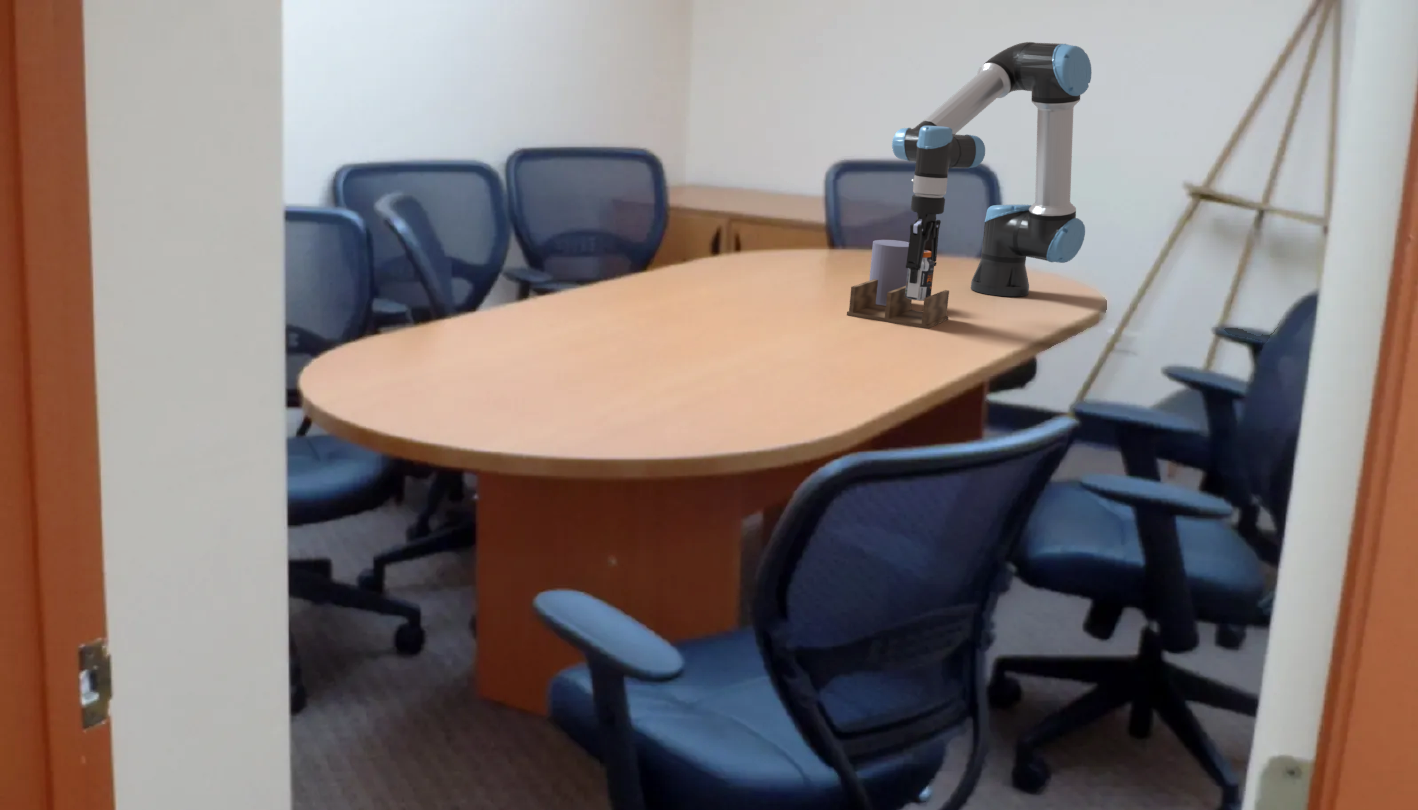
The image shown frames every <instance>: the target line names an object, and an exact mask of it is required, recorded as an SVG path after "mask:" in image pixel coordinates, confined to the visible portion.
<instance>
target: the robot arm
mask: <svg viewBox="0 0 1418 810" xmlns="http://www.w3.org/2000/svg"><path fill="white" fill-rule="evenodd" d="M1091 81H1092V64H1091V60H1090V58H1089V55H1088V54H1087V52H1085V50H1084V49H1083V48H1082V47H1081V46H1077V45H1073V44H1067V43H1050V42H1049V43H1048V42H1032V41H1026V42H1021V43H1016V44H1014V45H1012V46H1009V47H1007V48H1005V49H1003V50H1001V51H1000V52H998V53H996V54H995V55H993V56H992V57H990V58H989V59H988V60H987V61H985V63H983V64H981V65H980V67H979V68H978V71H977V74H976V75H975V76H974V77H973V78H971V79H970V80H969V81H968V82H966V83H965V85H963V86H962V87H961V88H960V89H959V90H958V91H956V92H955V93H954V94H953V95H951V96H950V97H949V98H948V99H946V101H944V102H943V103H942V104H941V105H939V107H937V108H936V109H935V110H934V111H933V112H931V113H930V114H929V115H928V116H926V117H925V118H924V120H922V121H921V122H920V123H919V124H917V125H916V126H915V127H913V128H911V127H906V128H905V127H904V128H900V129H898V130H897V131H896V132H895V134H894V135H893V137H892V141H891V142H892V143H891V147H892V152H893V154H894V156H895V157H896V158H897V159H899V160H903V161H907V162H911V163H912V162H913V163H915V167H914V168H915V170H914V176H913V178H912V179H911V182H912V183H913V185H912V186H913V187H912V192H913V193H914V194H913V195H912V196H911V202H910V203H911V204H910V210H911V211H912V212H913V213H916V214H917V215H916V219H915V220H914V221H915V222H914V223H913V222H912V223H910V226H909V240H908V241H909V247H908V255H907V263H906V268H910V270H909V280H908V289H907V296H908V297H914V298H919V292H920V283H921V274H922V270H921V269H920V268H921V263H922V258H923V254H924V250H928V251H931V252H932V253H931V260H932V261H933V262H934V267H936V266H937V264H938V263H937V258H938V257H937V255H938V245H939V234H940V229H941V228H940V227H941V223H942V222H941V220H940V219H937V215H941V214H942V215H943V213H944V212H945V204H946V198H945V197H944V196H945V195H946V194H947V187H948V178H949V177H948V175H949V169H967V170H968V169H970V168H971V169H972V168H976V167H978V166H979V165H981V163H983V161H984V159H985V156H986V145H985V143H984V141H983V139H982V138H980V137H979V136H976V135H974V134H973V135H971V134H957V133H958V132H959V131H960V130H962V129H963V128H964V127H965V126H967V124H969V123H970V122H971V121H973V119H974V118H976V117H977V116H978V115H979V114H980V113H981V112H983V111H984V110H985V109H986V108H987V107H989V106H990V105H991V104H992V103H993V102H994V101H995V100H996V99H1002V98H1005V97H1006V96H1008V95H1009V94H1010V93H1012V92H1016V91H1017V92H1018V91H1027V92H1031V103H1032V104H1033V105H1034V106H1036V108H1037V120H1036V123H1037V124H1036V125H1037V126H1036V156H1035V157H1036V158H1035V159H1036V160H1035V193H1034V194H1035V198H1034V199H1035V201H1034V203H1033V204H996V205H991V206H989V207H988V208H987V210H986V213H985V214H986V216H985V219H984V227H983V236H982V246H981V255H980V261H979V263H978V265H977V267H976V270H975V272H974V275H973V277H972V278H971V283H970V290H972V291H974V292H977V293H981V294H985V295H988V296H989V295H990V296H999V297H1025V296H1028V295H1029V292H1030V282H1029V277H1028V272H1027V268H1026V262H1027V258H1033V259H1035V260H1036V259H1037V260H1042V261H1046V262H1049V263H1058V264H1061V263H1062V264H1064V263H1068V262H1070V261H1071V260H1073V259H1074V258H1075V257H1076V256H1077V255H1078V253H1079V252H1080V250H1081V248H1082V246H1083V243H1084V240H1085V235H1086V226H1085V224H1084V221H1082V220H1081V219H1080V218H1077V207H1076V206H1075V205H1074V204H1072V203H1071V189H1072V188H1071V185H1072V163H1073V161H1072V158H1073V155H1072V154H1073V134H1074V133H1073V132H1074V129H1073V128H1074V108H1075V106H1076V105H1077V104H1078V103H1080V102H1081V96H1082V95H1083V94H1085V92H1086V91H1087V90H1088V88H1089V84H1090V83H1091Z"/></svg>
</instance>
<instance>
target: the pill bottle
mask: <svg viewBox="0 0 1418 810" xmlns="http://www.w3.org/2000/svg"><path fill="white" fill-rule="evenodd" d="M931 253H932V252H931V251H928V250H924V254H923V258H922V263H921V268H920V269H921V270H922V274H921V283H920V292H919V298H914V297H908V296H907V289H908V280H909V270H910V268H908V273H907V282H906V291H905V297H906V298H908V299H911V300H912V301H920V302H921V301H923V302H924V298H926V297H929V296H931V295H932V289H933V280H934V279H933V278H934V273H935V272H934V271H935V266H934V262H933V261H932V260H931Z"/></svg>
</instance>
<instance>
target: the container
mask: <svg viewBox="0 0 1418 810" xmlns="http://www.w3.org/2000/svg"><path fill="white" fill-rule="evenodd" d="M908 247H909V242H908V241H904V240H897V239H896V240H895V239H876V240H873V241H872V249H871V261H870V269H869V279H868V281H870V280H873V279H877V280H878V287H877V297H876V304H878V305H884V306H886V300H887V292H890V291H893V290H896V289H898V288H901V287H904V286H906V282H907V273H908V268H906V263H907V255H908Z"/></svg>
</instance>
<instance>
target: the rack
mask: <svg viewBox="0 0 1418 810" xmlns="http://www.w3.org/2000/svg"><path fill="white" fill-rule="evenodd" d="M877 287H878V280H877V279H873V280H870V281H869V280H868V281H865V282H861V283H859V284H856V285H852V286H850V294H849V295H850V296H849V307H848V308H849V309H848V311H846V316H850V317H856V318H862V319H868V320H874V321H879V322H886V323H891V324H897V325H898V324H899V325H903V326H910V327H916V328H922V329H931V328H932V327H934V326H937V325H938V324H941V323H943V322H946V321H947V320H949V315H947V313H948V306H949V304H948V303H949V295H950V290H947V289H943V290H941V291H939V292H937V293H934V294H931V296H929V297H926V298H924V301H923V306H922V307H923V308H922V311H919V310H916V309H915V310H913V309H912V301H913V300H911V299H908V298H906V297H905V291H906V286H904V287H901V288H898V289H896V290H893V291H890V292H887V300H886V306H884V305H878V304H876V297H877Z"/></svg>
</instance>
